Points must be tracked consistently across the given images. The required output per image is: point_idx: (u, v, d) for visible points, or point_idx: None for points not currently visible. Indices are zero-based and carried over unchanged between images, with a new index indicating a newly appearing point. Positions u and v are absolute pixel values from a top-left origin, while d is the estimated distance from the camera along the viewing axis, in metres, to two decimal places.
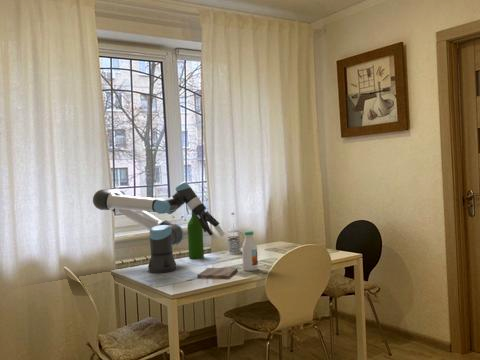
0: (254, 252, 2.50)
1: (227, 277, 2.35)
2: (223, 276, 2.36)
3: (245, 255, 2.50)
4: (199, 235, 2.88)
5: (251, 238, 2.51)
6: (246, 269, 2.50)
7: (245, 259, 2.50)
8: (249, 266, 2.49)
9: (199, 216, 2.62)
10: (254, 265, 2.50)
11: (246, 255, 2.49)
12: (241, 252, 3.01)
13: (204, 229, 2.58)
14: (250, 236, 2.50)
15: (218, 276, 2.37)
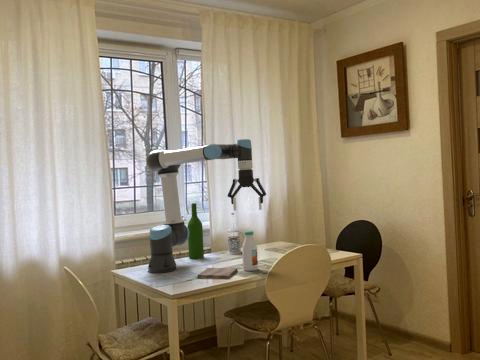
0: (254, 252, 2.50)
1: (227, 277, 2.35)
2: (223, 276, 2.36)
3: (245, 255, 2.50)
4: (199, 235, 2.88)
5: (251, 238, 2.51)
6: (246, 269, 2.50)
7: (245, 259, 2.50)
8: (249, 266, 2.49)
9: None
10: (254, 265, 2.50)
11: (246, 255, 2.49)
12: (241, 252, 3.01)
13: None
14: (250, 236, 2.50)
15: (218, 276, 2.37)
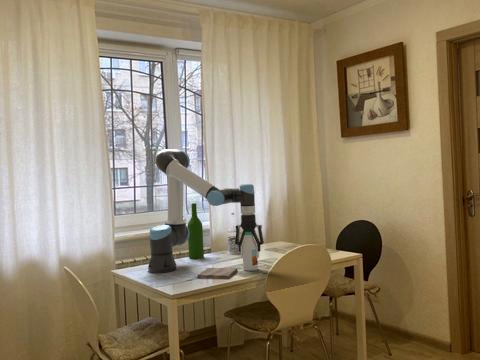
0: (254, 252, 2.50)
1: (227, 277, 2.35)
2: (223, 276, 2.36)
3: (245, 255, 2.50)
4: (199, 235, 2.88)
5: (251, 238, 2.51)
6: (246, 269, 2.50)
7: (245, 259, 2.50)
8: (249, 266, 2.49)
9: None
10: (254, 265, 2.50)
11: (246, 255, 2.49)
12: None
13: None
14: (250, 236, 2.50)
15: (218, 276, 2.37)
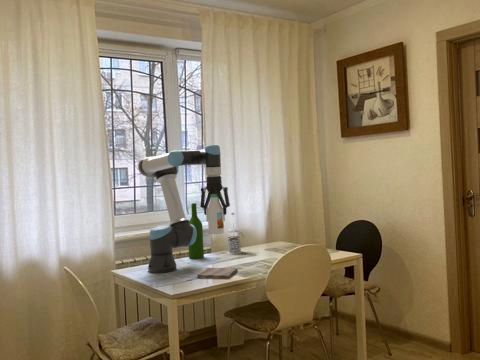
0: (219, 215, 2.41)
1: (227, 277, 2.35)
2: (223, 276, 2.36)
3: (210, 218, 2.41)
4: (199, 235, 2.88)
5: (217, 201, 2.42)
6: (211, 232, 2.42)
7: (210, 222, 2.41)
8: (214, 229, 2.41)
9: None
10: (219, 228, 2.41)
11: (211, 218, 2.41)
12: (241, 252, 3.01)
13: None
14: (215, 198, 2.42)
15: (218, 276, 2.37)
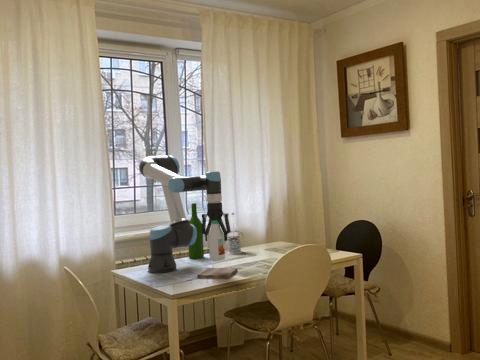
0: (220, 241, 2.41)
1: (227, 277, 2.35)
2: (223, 276, 2.36)
3: (211, 244, 2.41)
4: (199, 235, 2.88)
5: (217, 227, 2.42)
6: (212, 259, 2.42)
7: (211, 249, 2.42)
8: (215, 256, 2.41)
9: None
10: (220, 254, 2.42)
11: (212, 244, 2.41)
12: (241, 252, 3.01)
13: None
14: (216, 225, 2.42)
15: (218, 276, 2.37)
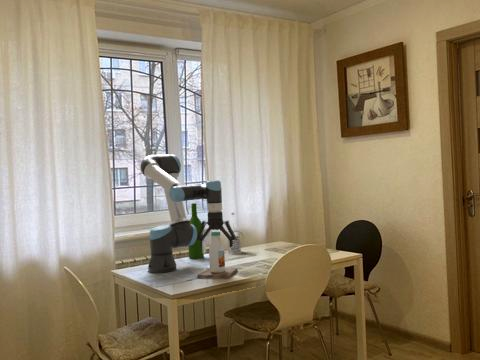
0: (221, 253, 2.42)
1: (227, 277, 2.35)
2: (223, 276, 2.36)
3: (211, 256, 2.42)
4: None
5: (218, 239, 2.43)
6: (212, 271, 2.42)
7: (211, 261, 2.42)
8: (215, 268, 2.41)
9: None
10: (221, 266, 2.42)
11: (212, 256, 2.41)
12: (241, 252, 3.01)
13: None
14: (217, 237, 2.43)
15: (218, 276, 2.37)
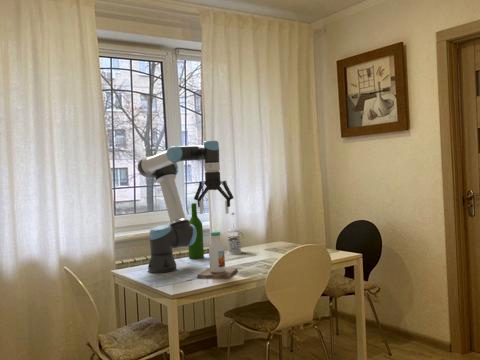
0: (221, 253, 2.42)
1: (227, 277, 2.35)
2: (223, 276, 2.36)
3: (211, 257, 2.42)
4: (199, 235, 2.88)
5: (218, 239, 2.43)
6: (212, 271, 2.42)
7: (211, 261, 2.42)
8: (215, 268, 2.41)
9: None
10: (221, 266, 2.42)
11: (212, 256, 2.41)
12: (241, 252, 3.01)
13: None
14: (217, 237, 2.42)
15: (218, 276, 2.37)
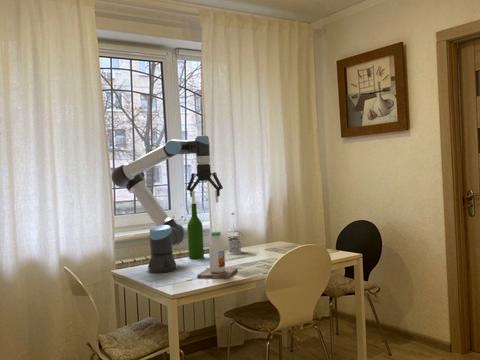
0: (221, 253, 2.42)
1: (227, 277, 2.35)
2: (223, 276, 2.36)
3: (211, 256, 2.42)
4: (199, 235, 2.88)
5: (218, 239, 2.43)
6: (212, 271, 2.42)
7: (211, 261, 2.42)
8: (215, 268, 2.41)
9: None
10: (221, 266, 2.42)
11: (212, 256, 2.41)
12: (241, 252, 3.01)
13: None
14: (217, 237, 2.43)
15: (218, 276, 2.37)
